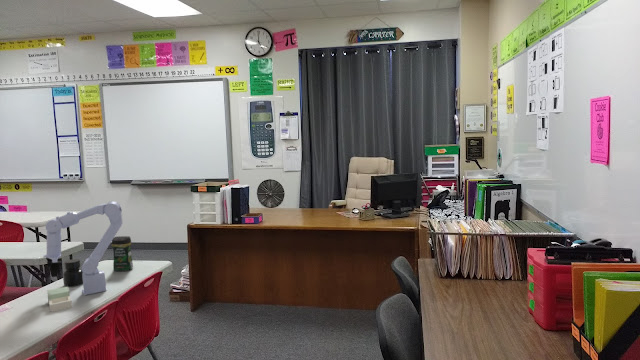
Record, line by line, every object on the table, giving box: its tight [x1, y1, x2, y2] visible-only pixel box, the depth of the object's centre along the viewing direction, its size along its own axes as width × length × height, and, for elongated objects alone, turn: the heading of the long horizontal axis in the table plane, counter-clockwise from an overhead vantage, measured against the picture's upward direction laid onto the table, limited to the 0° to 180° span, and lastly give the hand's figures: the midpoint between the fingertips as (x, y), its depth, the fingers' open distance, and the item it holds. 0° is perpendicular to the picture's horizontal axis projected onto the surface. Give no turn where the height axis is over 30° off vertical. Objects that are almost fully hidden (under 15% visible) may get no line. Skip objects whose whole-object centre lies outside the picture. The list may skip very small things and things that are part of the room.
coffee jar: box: [111, 235, 134, 272], centre depth 244 cm, size 10×8×19 cm
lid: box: [46, 286, 71, 300], centre depth 197 cm, size 8×8×2 cm
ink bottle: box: [62, 258, 83, 288], centre depth 221 cm, size 10×9×12 cm
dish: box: [48, 296, 73, 313], centre depth 191 cm, size 8×8×3 cm
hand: (53, 274), depth 204 cm, fingers open, 7 cm apart
